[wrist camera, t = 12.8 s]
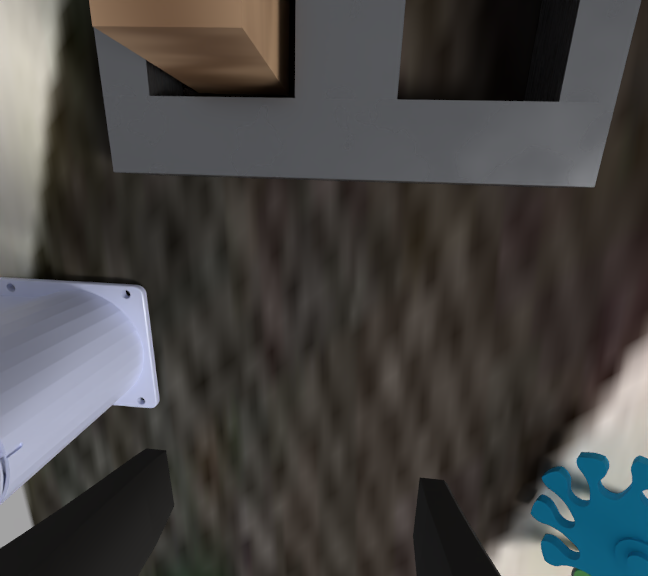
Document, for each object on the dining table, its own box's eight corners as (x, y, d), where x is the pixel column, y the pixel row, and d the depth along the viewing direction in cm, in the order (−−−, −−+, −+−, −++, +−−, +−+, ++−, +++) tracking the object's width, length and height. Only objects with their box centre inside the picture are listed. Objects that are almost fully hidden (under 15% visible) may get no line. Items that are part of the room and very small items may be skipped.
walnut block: (199, 93, 16) (92, 26, 10) (193, -17, 15) (65, -182, 8) (288, 95, 16) (242, 27, 9) (289, -17, 15) (236, -188, 8)
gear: (602, 419, 18) (919, 652, 11) (620, 393, 22) (863, 556, 15) (485, 531, 22) (665, 739, 16) (518, 493, 26) (672, 648, 20)
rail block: (152, 175, 18) (110, 171, 14) (120, -125, 14) (56, -212, 11) (551, 187, 16) (598, 187, 13) (622, -143, 13) (707, -247, 10)
